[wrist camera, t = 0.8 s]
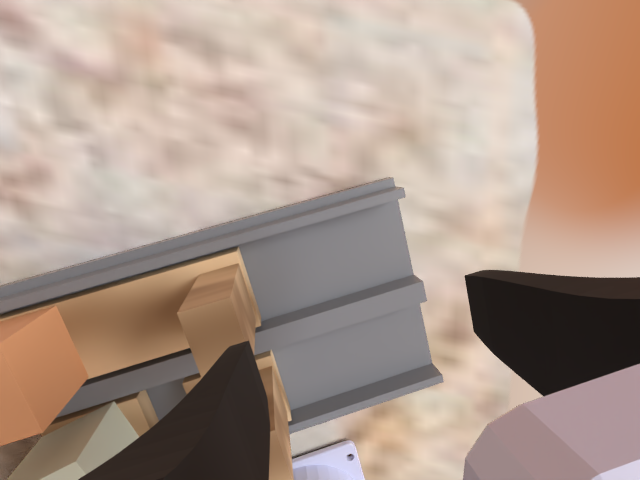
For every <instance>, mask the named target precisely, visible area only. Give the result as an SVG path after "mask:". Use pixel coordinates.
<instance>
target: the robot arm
mask: <svg viewBox="0 0 640 480" xmlns="http://www.w3.org/2000/svg"><path fill="white" fill-rule="evenodd" d="M465 281H466V287H467V293H468V299H469V305H470V311H471V317H472V323H473V329H474V332H475V333H476V335H477V336H478V337H479V338H480V339H481V341H482V342H483V343H484V344H485V345H486V346H487V347H488V348H489V349H490V351H491V352H492V353H493V354H494V355H495V356H497V357H498V358H499V359H500V360H501V361H502V362H503V363H505V364H506V365H507V366H508V367H509V368H510V369H512V370H513V371H514V372H515V373H516V374H518V375H519V376H520V377H521V378H522V379H524V380H525V381H526V382H527V383H528V384H530V385H531V386H532V387H533V388H534V389H535V390H537V391H538V392H539V393H540V394H542V395H543V396H544V397H541V398H538V399H535V400H532V401H529V402H527V403H523V404H521V405H518V406H516V407H515V408H513V409H512V410H510V411H508V412H507V413H505V414H503V415H502V416H500V417H498V418H497V419H495V420H494V421H492V422H490V423H489V424H487V426H486V427H485V429H484V430H483V432H482V433H481V435H480V436H479V438H478V439H477V441H476V442H475V444H474V445H473V446H472V448H471V449H470V451H469V452H468V454H467V456H466V458H465V466H464V476H463V480H640V277H637V278H589V277H571V276H556V275H545V274H535V273H525V272H514V271H501V270H482V271H479V272H475V273H472V274H469V275H465ZM349 454H352V455H351V456H347V455H349ZM269 459H270V417H269V408H268V399H267V395H266V391H265V388H264V385H263V382H262V379H261V376H260V373H259V370H258V367H257V363H256V360H255V357H254V354H253V351H252V348H251V345H250V342H249V341H245V342H242V343H239V344H235V345H232V346H229V347H228V348H227V349H226V350H225V351H224V353H223V354H222V355H221V356H220V357H219V358H218V360H217V361H216V362H215V363H214V365H213V366H212V367H211V368H210V369H209V370H208V372H207V373H206V374H205V375H204V376H203V378H202V379H201V380H200V381H199V382H198V383H197V384H196V385H195V386H194V387H193V388H192V390H191V391H190V392H189V393H188V394H187V395H186V396H185V397H184V398H183V399H182V400H181V401H180V402H179V403H178V404H177V405H176V406H175V407H174V408H173V409H172V410H171V411H170V412H169V413H168V414H167V415H165V416H164V417H163V418H162V419H161V420H160V421H159V422H158V423H156V424H155V425H154V426H153V427H152V428H150V429H149V430H148V431H147V432H145V433H144V434H143V435H141V436H140V437H139V438H137V439H136V440H135V441H134V442H132V443H131V444H130V445H128V446H127V447H126V448H124V449H123V450H122V451H120V452H119V453H118V454H116V455H115V456H113V457H112V458H110V459H109V460H107V461H106V462H104V463H103V464H101V465H100V466H98V467H97V468H95V469H94V470H92V471H91V472H89V473H87V474H86V475H84V476H83V477H81V478H80V479H78V480H269ZM292 467H293V477H294V480H365V479H364V475H363V472H362V468H361V465H360V461H359V458H358V454H357V450H356V447H355V444H354V442H352V441H350V440H346V441H343V442H340V443H337V444H334V445H331V446H328V447H326V448H323V449H320V450H317V451H314V452H311V453H308V454H305V455H302V456H300V457H297V458H294V459H292Z"/></svg>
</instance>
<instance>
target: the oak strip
mask: <svg viewBox="0 0 640 480" xmlns="http://www.w3.org/2000/svg"><path fill="white" fill-rule="evenodd" d="M52 306H57V308H58V311H59V313H60V315H61V317H62V319H63V322H64V324H65V326H66V328H67V330H68V332H69V335H70V337H71V339H72V341H73V343H74V345H75V348H76V350H77V352H78V354H79V356H80V359H81V361H82V363H83V365H84V367H85V369H86V372H87V374H88V376H89V378H88V379H90V378H93V377H97V376H100V375H103V374H106V373H110V372H113V371H116V370H119V369H123V368H126V367H129V366H132V365H136V364H139V363H142V362H145V361H149V360H152V359H155V358H158V357H162V356H165V355H168V354H171V353H175V352H178V351H181V350H184V349H188V348H190V349H191V352H192V354H193V357H194V359H195V362H196V365H197V367H198V370H199V373H200V375H201V378H203V376H204V375H205V374H206V373H207V372H208V370H209V369H210V368H211V367H212V366H213V365H214V363H215V362H216V361H217V360H218V358H219V357H220V356H221V355H222V354H223V353H224V351H225V350H226V349H227V348H228V347H229V346H232V345H235V344H239V343H242V342H245V341H249V342H250V345H251V348H252V351H253V354H254V348H255V328H256V327H259V326H261V315H260V312H259V308H258V305H257V302H256V299H255V296H254V293H253V290H252V287H251V284H250V280H249V277H248V274H247V271H246V268H245V265H244V262H243V259H242V256H241V252H240V249H239V246H238V247H234V248H231V249H227V250H224V251H220V252H217V253H213V254H210V255H206V256H203V257H199V258H196V259H192V260H189V261H185V262H182V263H178V264H175V265H171V266H168V267H164V268H161V269H157V270H154V271H150V272H147V273H143V274H140V275H136V276H133V277H129V278H126V279H122V280H119V281H115V282H112V283H108V284H105V285H101V286H98V287H94V288H91V289H87V290H84V291H80V292H77V293H73V294H70V295H66V296H63V297H59V298H56V299H52V300H49V301H45V302H42V303H38V304H35V305H31V306H28V307H24V308H21V309H17V310H14V311H10V312H7V313H3V314H0V321H4V320H7V319H11V318H14V317H18V316H21V315H25V314H28V313H32V312H35V311H39V310H42V309H45V308H49V307H52Z"/></svg>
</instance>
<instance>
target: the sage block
mask: <svg viewBox="0 0 640 480" xmlns="http://www.w3.org/2000/svg"><path fill="white" fill-rule="evenodd" d="M137 438H139V436H138V434H137V433H136V431H135V430H134V429H133V427H132V426H131V424H130V423H129V422H128V420H127V419H126V417H125V416H124V414H123V413H122V412H121V410H120V409H119V407H118V406H117V405H116V403H115V402H114V401H113V402H111V403H109V404H107V405H105V406H103V407H101V408H99V409H97V410H95V411H93V412H91V413H89V414H87V415H85V416H83V417H81V418H79V419H77V420H75V421H73V422H71V423H69V424H67V425H65V426H63V427H61V428H59V429H57V430H55V431H53V432H51V433H49V434H47V435H45V436H43V437H41V438H40V439H39V441H38V442H37V443H36V444H35V446H34V447H33V448H32V449H31V450H30V452H29V453H28V454H27V455H26V457H25V458H24V459H23V460H22V461H21V463H20V464H19V465H18V466H17V468H16V469H15V470H14V471H13V472H12V474H11V475H10V476H9V477H8V479H7V480H78V479H80V478H81V477H83V476H84V475H86V474H87V473H89V472H91V471H92V470H94V469H95V468H97V467H98V466H100V465H101V464H103V463H104V462H106V461H107V460H109V459H110V458H112V457H113V456H115V455H116V454H118V453H119V452H120V451H122V450H123V449H124V448H126V447H127V446H128V445H130V444H131V443H132V442H134V441H135V440H136V439H137Z"/></svg>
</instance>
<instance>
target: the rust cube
mask: <svg viewBox="0 0 640 480" xmlns="http://www.w3.org/2000/svg"><path fill="white" fill-rule="evenodd" d="M88 378H89V376H88V374H87V372H86V369H85V367H84V365H83V363H82V361H81V359H80V356H79V354H78V352H77V350H76V348H75V345H74V343H73V341H72V339H71V337H70V335H69V332H68V330H67V328H66V326H65V324H64V322H63V319H62V317H61V315H60V313H59V311H58V308H57V306H52V307H49V308H45V309H42V310H39V311H35V312H32V313H28V314H25V315H21V316H18V317H14V318H11V319H7V320H4V321H0V446H2V445H6V444H9V443H12V442H15V441H18V440H21V439H24V438H28V437H31V436H34V435H37V434H40V433H43V432H44V431H45V430H46V429H47V427H48V426H49V425H50V424H51V422H52V421H53V420H54V419H55V418H56V416H57V415H58V414H59V413H60V412H61V410H62V409H63V408H64V407H65V405H66V404H67V403H68V402H69V401H70V399H71V398H72V397H73V396H74V395H75V393H76V392H77V391H78V390H79V388H80V387H81V386H82V385H83V384H84V382H85V381H86V380H87V379H88Z"/></svg>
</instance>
